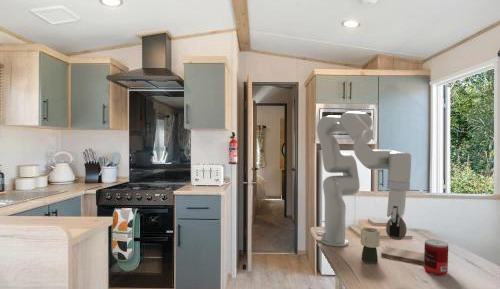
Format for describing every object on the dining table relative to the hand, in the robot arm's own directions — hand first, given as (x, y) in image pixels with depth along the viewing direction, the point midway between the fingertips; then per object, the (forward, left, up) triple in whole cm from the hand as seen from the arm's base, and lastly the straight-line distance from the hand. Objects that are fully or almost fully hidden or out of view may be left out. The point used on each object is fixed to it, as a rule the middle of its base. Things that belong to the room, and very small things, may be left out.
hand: (395, 233), depth 120 cm
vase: (0, 0, -2) cm, 2 cm away
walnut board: (+1, +20, -15) cm, 24 cm away
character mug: (-10, +6, -15) cm, 19 cm away
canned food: (+13, +10, -15) cm, 22 cm away
